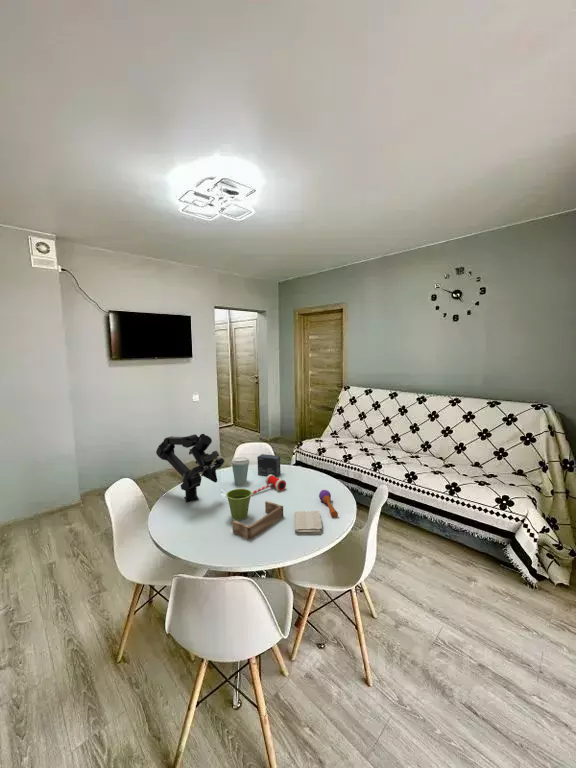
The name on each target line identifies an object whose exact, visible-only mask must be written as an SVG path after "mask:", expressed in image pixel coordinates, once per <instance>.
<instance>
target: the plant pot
mask: <svg viewBox="0 0 576 768" xmlns="http://www.w3.org/2000/svg"><path fill="white" fill-rule="evenodd" d="M252 492H253V491H252V490H250V489H248V488H234V489H231V490H229V491H228V492H226V494H225V496H226V498H227V502H228V503H229V509H230V515H231V519H233V521H234V520H235V521H242V520H245V519H247V518H248V514H249V507H250V500H251V496H252Z"/></svg>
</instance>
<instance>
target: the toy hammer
mask: <svg viewBox="0 0 576 768" xmlns="http://www.w3.org/2000/svg"><path fill="white" fill-rule="evenodd" d="M265 484H266V485H265V486H262V487H260V488H258V489H255V490H253V491H251V492H252V495H254V494H256V493H258V492H259V493H260V492H261V491H263V490H264V491H265V490H266V489H268V488H270V487H273V488H274V489H275V490H277V492H282V491H284V490H285V489H286V487H287V482H286V480H284V479H283V478H282V479H281V478H278V477H277V478H276V477H275V476H274V475H272V474H270V475H268V476H265ZM252 495H251V496H252Z"/></svg>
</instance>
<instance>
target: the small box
mask: <svg viewBox="0 0 576 768" xmlns="http://www.w3.org/2000/svg"><path fill="white" fill-rule="evenodd" d="M256 460H257V476H258V475H259V476H260V477H267V476H268V475H270V474H272V475H274V476H275V477H277V478H278V477H279V476H281V455H275V454H274V455H273V454H264V453H261V454H260V455H258V456H257V459H256Z"/></svg>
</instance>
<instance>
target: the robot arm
mask: <svg viewBox="0 0 576 768" xmlns="http://www.w3.org/2000/svg"><path fill="white" fill-rule="evenodd" d="M212 443H213V441H212V438H211V437H210V436H209V435H206V434H205V433H200V435H199V436H198V435H197V434H194V433H193V434H191V435H187V436H172V435H171V436H168V437H165V438H164V439H163V441H162V442H161V443H160V444H159V445H158V447H157V449H156V452H155V453H156V456H157V457H158V458H159V459H161V460H163V461H167V462H168V463H169V465H171V466H172V468H174V469H175V470H176V472H178V474H179V475H180V476H181V478H182V483H181V485H180V488H181V490H182V491H184V492H185V493H184V495H185V496H184V497H183V499H184V501H185V503H189V502H190V503H191V502H194V501H199V499H200V498H199V497H198V493H197V492H198V491H197V489H198V487H200V486H201V483H202V477H204V478H206V479H208V480H210V481H212V482H213V483H217V482H218V476H217V471H216V470H217V469H220V468H221V467H222V466H223V464H224V463H225V462H226V461H225V460H224V458H223V457H220V458H218V457H219V456H220V454H219V452H218V450H214V451H212V452H211V453H210V454H209V453H206V452H205V451H206V450H207V449H208V448H209V447H210V445H211V444H212ZM176 446H182V447H183V448H186V449H189V452H188V455H189V456H191V455H192V456H193V458H194V459H195V464H196V465H197V464H198V465H197V466H195V467H193V468H191V469H190V468H189V467H187V465H186V464H185V463H184V462H183V461H182V460H181V459H180V458H179V457H178V456H177V455H176V454H175V447H176ZM200 473H201V474H200Z"/></svg>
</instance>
